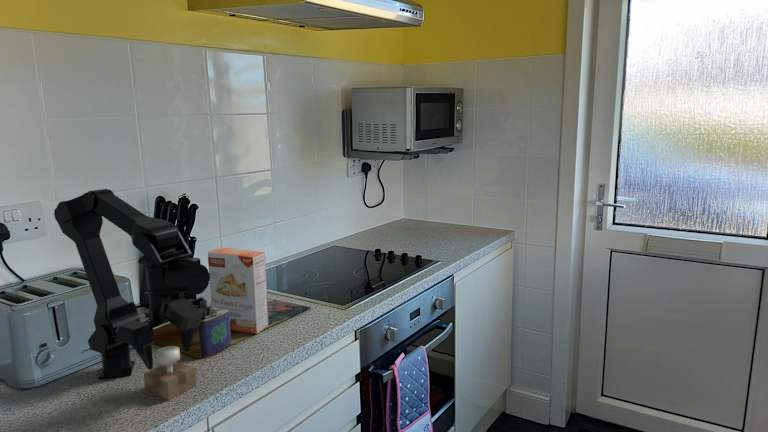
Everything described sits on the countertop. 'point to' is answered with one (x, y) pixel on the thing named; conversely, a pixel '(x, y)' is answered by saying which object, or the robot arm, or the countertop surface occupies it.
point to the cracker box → (239, 287)
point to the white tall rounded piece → (168, 356)
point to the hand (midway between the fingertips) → (169, 360)
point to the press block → (170, 380)
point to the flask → (214, 333)
